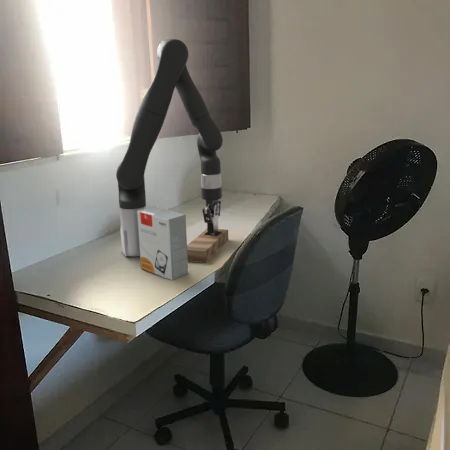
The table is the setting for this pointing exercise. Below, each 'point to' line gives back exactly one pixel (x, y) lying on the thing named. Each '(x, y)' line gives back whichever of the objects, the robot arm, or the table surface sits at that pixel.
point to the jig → (206, 246)
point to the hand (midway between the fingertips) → (212, 230)
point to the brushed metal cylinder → (215, 226)
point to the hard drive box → (163, 242)
